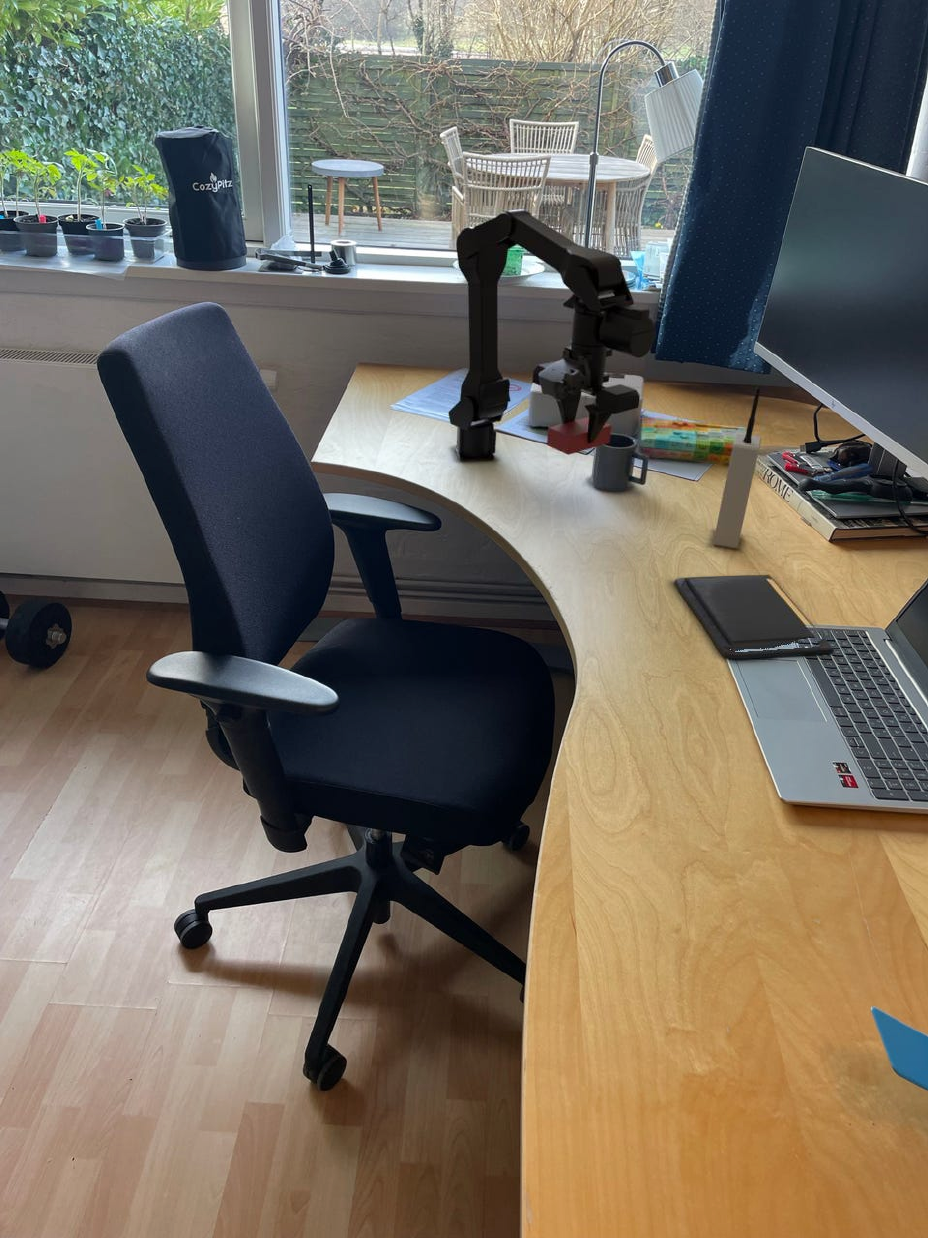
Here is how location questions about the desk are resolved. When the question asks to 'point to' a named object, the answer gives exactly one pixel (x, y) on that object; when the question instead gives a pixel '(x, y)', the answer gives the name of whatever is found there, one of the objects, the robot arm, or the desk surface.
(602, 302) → the robot arm
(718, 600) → the wallet
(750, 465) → the vintage mobile phone
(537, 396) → the projector
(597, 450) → the mug
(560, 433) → the red rectangular block
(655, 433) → the puzzle game
